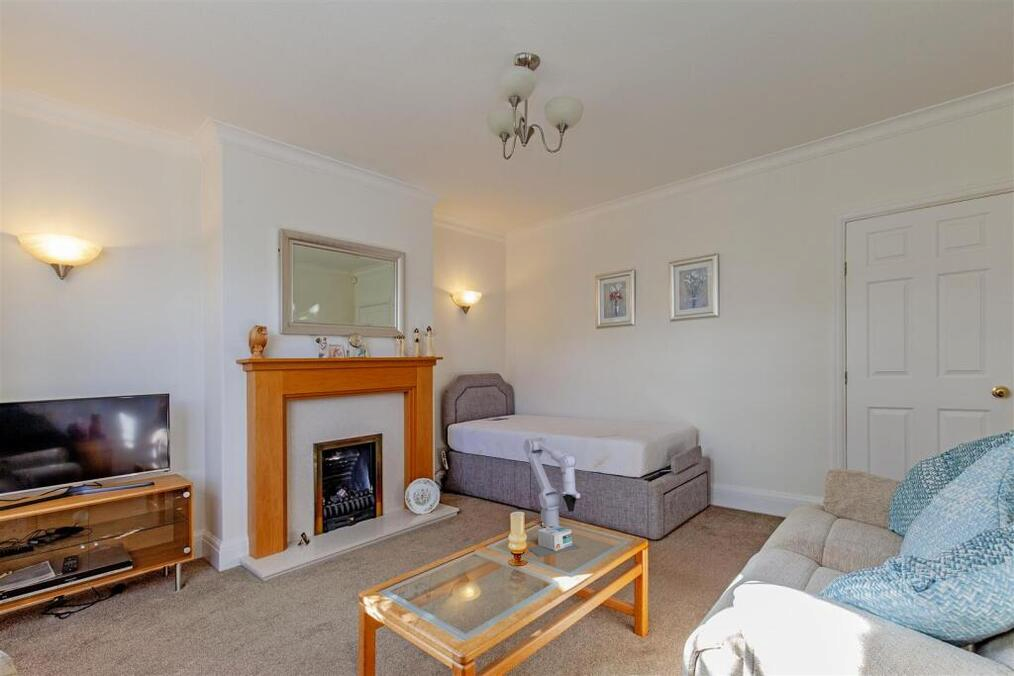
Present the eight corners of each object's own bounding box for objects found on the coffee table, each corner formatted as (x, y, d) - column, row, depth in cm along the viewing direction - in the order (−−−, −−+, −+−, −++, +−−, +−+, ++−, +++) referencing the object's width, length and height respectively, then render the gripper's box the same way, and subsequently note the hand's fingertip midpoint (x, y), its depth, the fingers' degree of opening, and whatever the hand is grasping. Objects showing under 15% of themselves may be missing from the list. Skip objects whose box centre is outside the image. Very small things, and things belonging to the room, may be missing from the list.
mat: (527, 548, 207) (527, 548, 207) (566, 540, 215) (566, 539, 215) (539, 556, 197) (539, 556, 197) (580, 547, 206) (580, 547, 206)
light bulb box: (554, 524, 217) (572, 529, 208) (555, 539, 216) (573, 545, 208) (537, 529, 210) (554, 535, 202) (538, 545, 209) (555, 551, 201)
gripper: (553, 480, 230) (555, 509, 229) (569, 485, 217) (572, 516, 216) (566, 478, 233) (568, 507, 232) (583, 482, 220) (585, 513, 219)
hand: (571, 511), depth 224 cm, fingers closed
